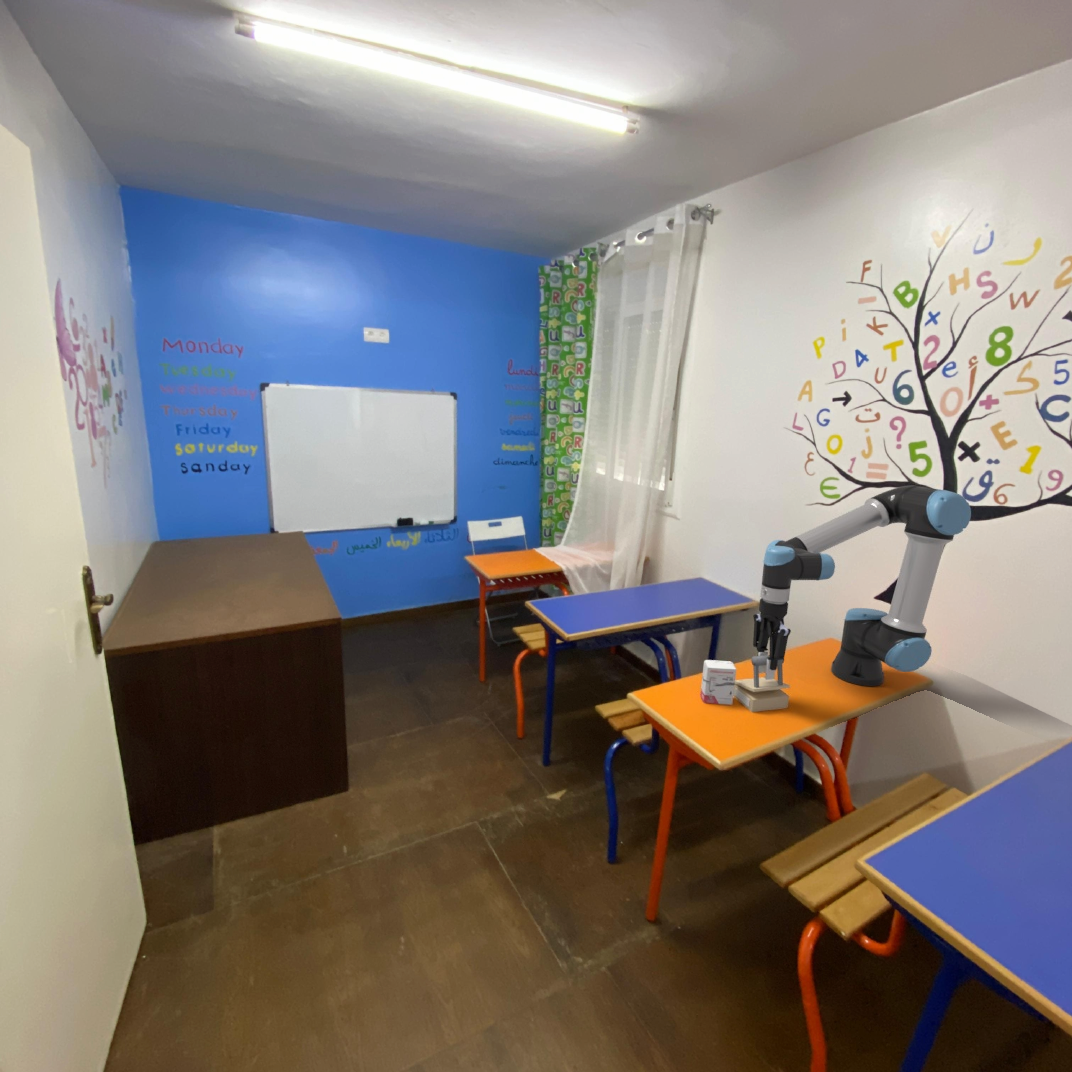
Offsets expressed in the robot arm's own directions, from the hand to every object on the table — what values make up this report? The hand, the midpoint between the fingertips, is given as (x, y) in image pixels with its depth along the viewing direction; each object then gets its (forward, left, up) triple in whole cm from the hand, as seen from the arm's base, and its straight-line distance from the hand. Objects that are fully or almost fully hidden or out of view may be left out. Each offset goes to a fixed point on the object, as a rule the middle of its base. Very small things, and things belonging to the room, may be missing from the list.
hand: (765, 675), depth 158 cm
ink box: (+12, -4, -9) cm, 16 cm away
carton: (0, -1, -9) cm, 9 cm away
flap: (0, -1, -4) cm, 4 cm away
